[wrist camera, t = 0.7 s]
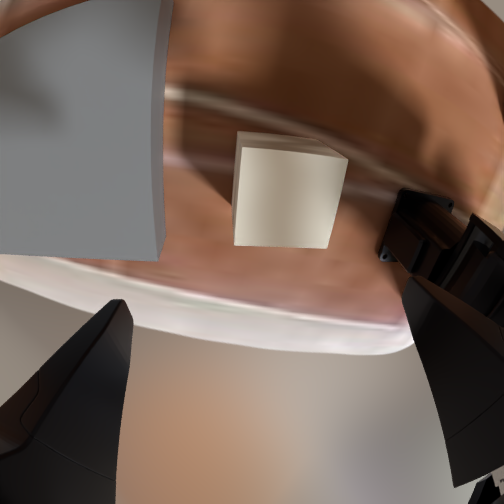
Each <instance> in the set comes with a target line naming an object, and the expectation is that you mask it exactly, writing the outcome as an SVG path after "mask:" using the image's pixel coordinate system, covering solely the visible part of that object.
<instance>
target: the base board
mask: <svg viewBox="0 0 504 504" xmlns="http://www.w3.org/2000/svg"><path fill="white" fill-rule="evenodd" d="M173 4H174V2H173V0H90V1H86V2H83V3H80V4H77V5H74V6H71V7H68V8H65V9H62V10H59V11H57V12H54V13H51V14H49V15H47V16H44V17H42V18H39V19H37V20H35V21H33V22H30V23H28V24H26V25H24V26H22V27H20V28H18V29H16V30H14V31H12V32H10V33H9V34H7V35H5V36H3V37H1V38H0V254H11V255H28V256H47V257H67V258H88V259H111V260H136V261H158V260H159V257H160V254H161V251H162V247H163V244H164V241H165V238H166V228H165V211H164V188H163V112H164V90H165V75H166V62H167V51H168V42H169V33H170V25H171V18H172V11H173Z"/></svg>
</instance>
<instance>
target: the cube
mask: <svg viewBox="0 0 504 504" xmlns="http://www.w3.org/2000/svg"><path fill="white" fill-rule="evenodd" d="M347 164H348V159H347V158H345V157H344V156H342V155H341V154H339V153H338V152H336V151H335V150H333V149H332V148H330V147H328V146H327V145H325V144H324V143H322V142H320V141H319V140H317V139H311V138H304V137H296V136H288V135H279V134H270V133H259V132H247V131H237V142H236V153H235V166H234V178H233V192H232V205H231V206H232V221H233V237H234V245H237V246H267V247H296V248H323V249H327V246H328V242H329V239H330V235H331V231H332V228H333V224H334V220H335V216H336V212H337V208H338V204H339V200H340V195H341V191H342V187H343V183H344V178H345V174H346V169H347Z"/></svg>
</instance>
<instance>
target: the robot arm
mask: <svg viewBox="0 0 504 504" xmlns="http://www.w3.org/2000/svg"><path fill="white" fill-rule="evenodd" d="M405 193H406V195H405V196H404V194H405ZM453 206H454V201H453V200H452V199H450V198H448V197H444V196H439V195H435V194H431V193H426V192H422V191H417V190H413V189H408V188H403V189H401V190H400V192H399V194H398V197H397V201H396V204H395V207H394V210H393V213H392V216H391V219H390V222H389V225H388V228H387V231H386V234H385V237H384V240H383V242H382V245H381V248H380V251H379V253H378V257H379V259H380V260H381V261H383V262H399V263H400V264H401V265H402V267H403V268H404V269H405V270H406V272H407V273H410V274H411V276H412V277H410V278H409V279H408V281H407V283H406V286H405V289H404V291H403V294H402V304H403V307H404V310H405V313H406V316H407V319H408V323H409V326H410V330H411V333H412V336H413V340H414V342H415V345H416V347H417V350H418V353H419V356H420V359H421V361H422V364H423V367H424V370H425V373H426V375H427V379H428V382H429V385H430V388H431V391H432V394H433V398H434V401H435V404H436V408H437V411H438V414H439V418H440V422H441V426H442V430H443V434H444V438H445V444H446V448H447V453H448V458H449V463H450V469H451V474H452V481H453V486H454V488H456V487H458V486H461V485H464V484H466V483H468V482H471V481H473V480H475V479H477V478H480V477H482V476H484V475H486V474H488V473H490V472H491V473H490V474H488V475H487V476H486V477H485V478H483V479H482V480H480V481H479V482H477V483H476V486H475V488H474V491H473V493H472V496H471V498H470V500H469V502H468V504H504V233H503V232H501V231H500V230H499V229H498V228H496V227H495V226H493V225H492V224H490V223H489V222H487V221H486V220H484V219H482V218H481V217H479V216H478V215H476V214H474V213H472V215H471V217H470V219H469V220H470V222H469V224H468V226H465V225H464V224H463V223H462V222H461V221H460V220H458V219H457V218H456V217H455V216H453V215H452V214H451V212H452V209H453ZM384 254H385V255H384ZM383 255H384V256H383ZM132 334H133V318H132V315H131V313H130V311H129V309H128V306H127V304H126V302H125V301H124V300H122V299H113V300H111V301H109V302H108V303H107V304H106V305H105V306H104V307H103V308H102V309H101V310H99V311H98V312H97V313H96V314H95V315H94V316H93V317H92V318H91V319H90V320H89V321H88V322H87V323H85V324H84V325H83V326H82V327H81V328H80V329H79V330H78V331H77V332H76V333H75V334H74V335H73V336H72V337H71V338H70V339H69V340H68V341H67V342H66V343H65V344H63V346H61V347H60V348H59V349H58V350H57V351H56V352H55V354H53V355H52V356H51V357H50V358H49V360H47V361H46V362H45V363H44V365H42V366H41V367H40V369H39V370H38V371H37V372H36V373H35V374H34V375H33V376H32V377H31V378H30V379H29V380H28V381H27V382H26V383H25V384H24V385H23V386H22V387H21V388H20V389H19V390H18V391H17V392H16V393H15V394H14V395H13V396H12V397H10V398H9V399H8V400H7V401H6V402H5V403H4V404H3V405H2V406H1V407H0V504H115V496H116V481H115V480H116V470H117V455H118V445H119V435H120V426H121V418H122V410H123V404H124V397H125V391H126V385H127V378H128V373H129V367H130V356H131V344H132Z"/></svg>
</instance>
